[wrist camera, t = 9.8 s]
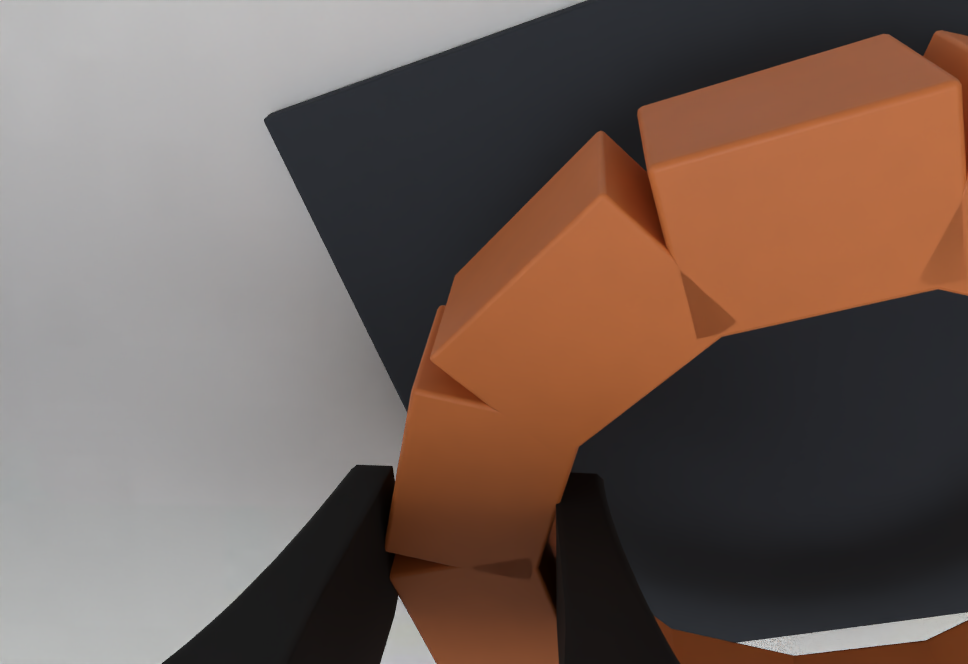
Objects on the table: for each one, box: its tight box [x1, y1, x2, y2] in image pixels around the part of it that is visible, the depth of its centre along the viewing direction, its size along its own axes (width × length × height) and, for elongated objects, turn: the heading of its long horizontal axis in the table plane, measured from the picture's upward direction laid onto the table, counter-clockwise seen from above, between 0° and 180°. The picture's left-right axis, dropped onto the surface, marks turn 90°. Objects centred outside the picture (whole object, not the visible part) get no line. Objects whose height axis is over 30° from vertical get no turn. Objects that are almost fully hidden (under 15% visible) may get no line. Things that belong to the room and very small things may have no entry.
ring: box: [385, 30, 968, 664], centre depth 13 cm, size 14×14×2 cm
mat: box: [264, 0, 968, 643], centre depth 16 cm, size 16×16×1 cm
